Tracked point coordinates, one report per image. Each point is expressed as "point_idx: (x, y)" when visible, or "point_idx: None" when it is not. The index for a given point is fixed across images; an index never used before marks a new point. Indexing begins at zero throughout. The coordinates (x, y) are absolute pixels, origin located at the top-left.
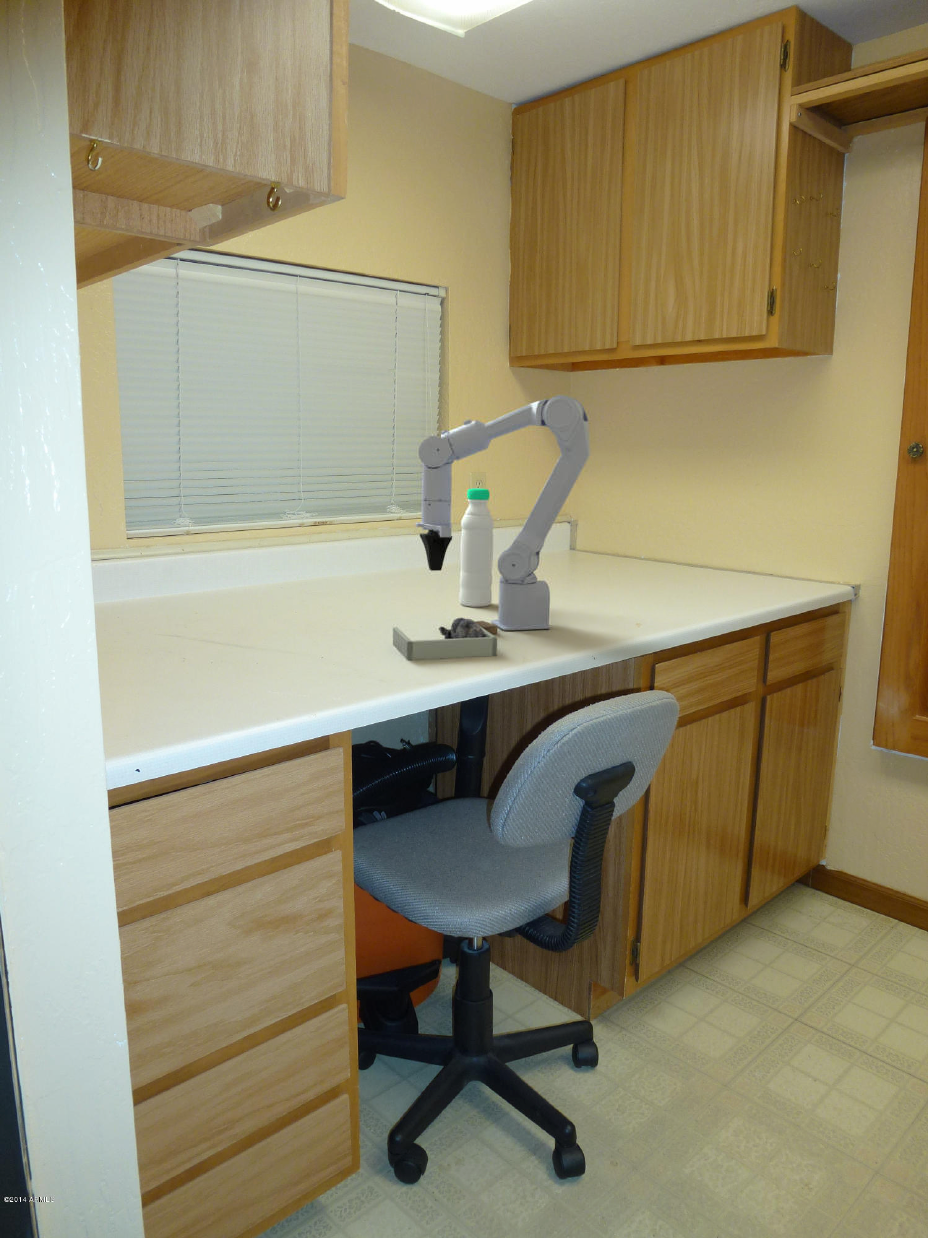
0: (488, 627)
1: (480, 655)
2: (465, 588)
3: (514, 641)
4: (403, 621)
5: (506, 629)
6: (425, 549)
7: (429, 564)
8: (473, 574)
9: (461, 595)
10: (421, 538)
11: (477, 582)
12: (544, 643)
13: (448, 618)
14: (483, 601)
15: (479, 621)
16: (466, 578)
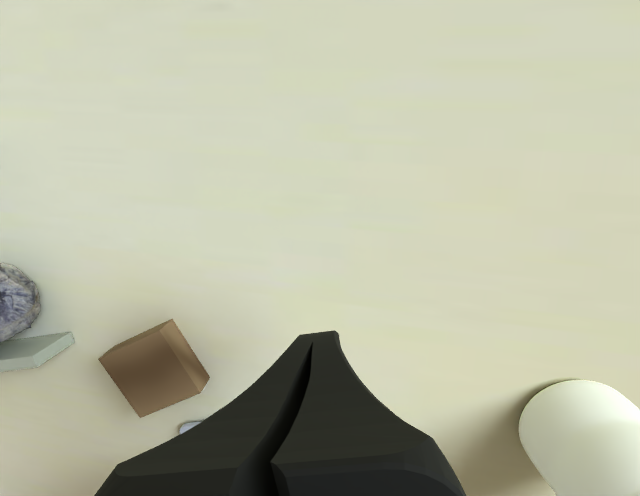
0: (124, 392)
1: None
2: (581, 432)
3: (82, 421)
4: (307, 166)
5: (180, 430)
6: (348, 386)
7: (300, 344)
8: None
9: (579, 400)
10: (382, 434)
11: (565, 491)
12: (74, 474)
13: (352, 312)
14: (525, 448)
15: (187, 384)
16: (605, 469)
